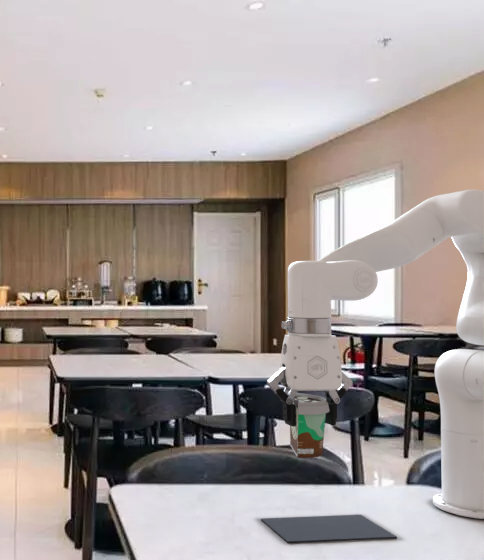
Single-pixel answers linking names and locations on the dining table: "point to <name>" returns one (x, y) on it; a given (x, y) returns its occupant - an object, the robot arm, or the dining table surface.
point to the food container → (308, 425)
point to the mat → (326, 528)
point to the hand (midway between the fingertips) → (310, 423)
